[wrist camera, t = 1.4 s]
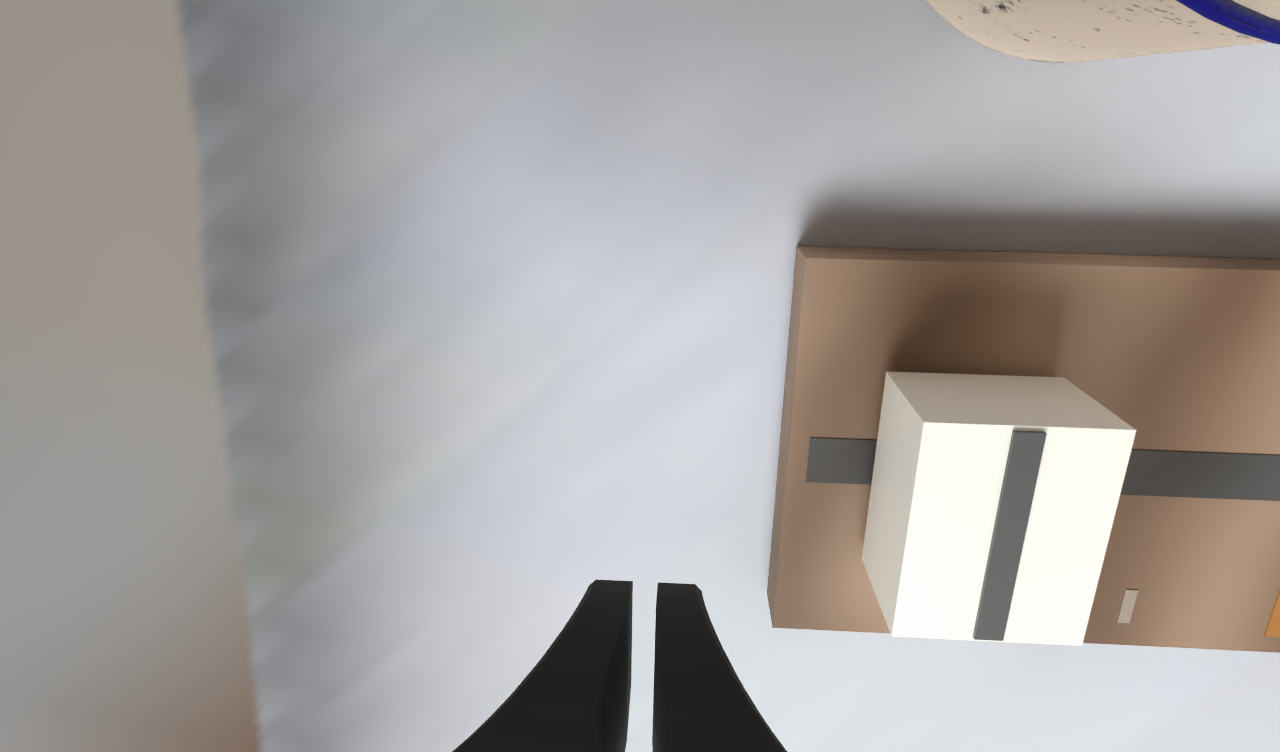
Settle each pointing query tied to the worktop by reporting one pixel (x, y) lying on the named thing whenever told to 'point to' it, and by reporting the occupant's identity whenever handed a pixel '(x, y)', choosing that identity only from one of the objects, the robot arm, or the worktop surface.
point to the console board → (1091, 360)
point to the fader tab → (991, 506)
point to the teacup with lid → (1110, 26)
